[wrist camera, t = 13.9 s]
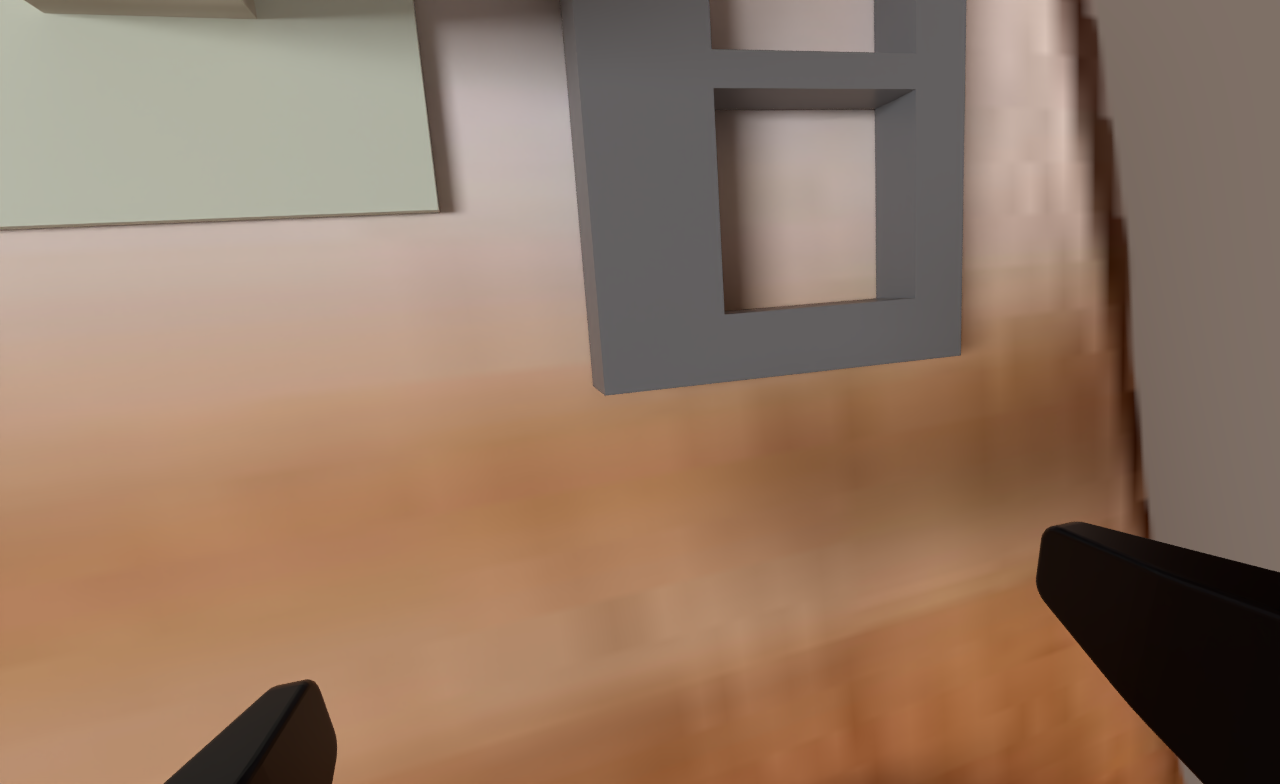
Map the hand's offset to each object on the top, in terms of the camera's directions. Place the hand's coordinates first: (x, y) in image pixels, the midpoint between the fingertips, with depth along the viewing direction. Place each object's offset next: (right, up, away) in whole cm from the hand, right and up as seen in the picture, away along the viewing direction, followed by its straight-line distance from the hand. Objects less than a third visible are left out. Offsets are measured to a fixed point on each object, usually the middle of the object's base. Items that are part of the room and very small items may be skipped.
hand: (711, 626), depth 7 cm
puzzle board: (+3, +12, +12) cm, 17 cm away
